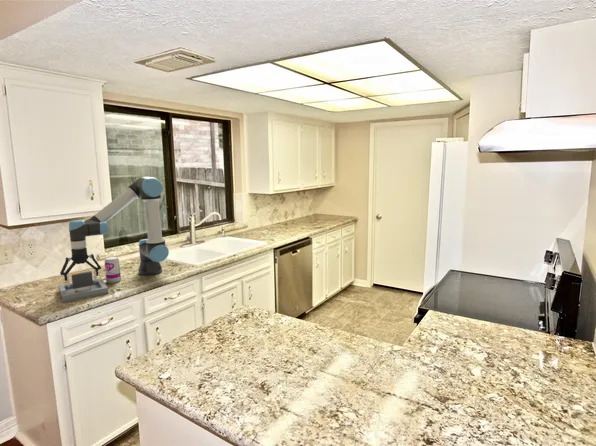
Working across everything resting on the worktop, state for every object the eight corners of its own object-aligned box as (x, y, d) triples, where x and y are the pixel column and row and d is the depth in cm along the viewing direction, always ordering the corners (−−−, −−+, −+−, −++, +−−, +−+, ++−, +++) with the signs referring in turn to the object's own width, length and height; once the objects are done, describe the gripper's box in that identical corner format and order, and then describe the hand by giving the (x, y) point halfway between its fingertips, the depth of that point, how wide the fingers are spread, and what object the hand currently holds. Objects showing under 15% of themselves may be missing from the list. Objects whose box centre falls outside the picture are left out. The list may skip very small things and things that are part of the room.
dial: (92, 286, 217) (90, 269, 215) (94, 289, 211) (92, 272, 209) (72, 289, 211) (70, 272, 210) (74, 293, 205) (72, 275, 203)
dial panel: (101, 283, 227) (100, 277, 226) (108, 293, 209) (107, 287, 209) (59, 291, 213) (58, 285, 213) (63, 302, 196) (62, 295, 196)
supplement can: (115, 283, 226) (113, 260, 223) (103, 282, 228) (101, 259, 225) (123, 279, 234) (121, 256, 231) (112, 278, 235) (110, 256, 233)
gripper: (102, 243, 217) (105, 277, 221) (52, 249, 202) (56, 286, 206) (104, 245, 211) (107, 281, 215) (53, 252, 197) (57, 289, 200)
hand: (82, 283), depth 210 cm, fingers open, 13 cm apart
